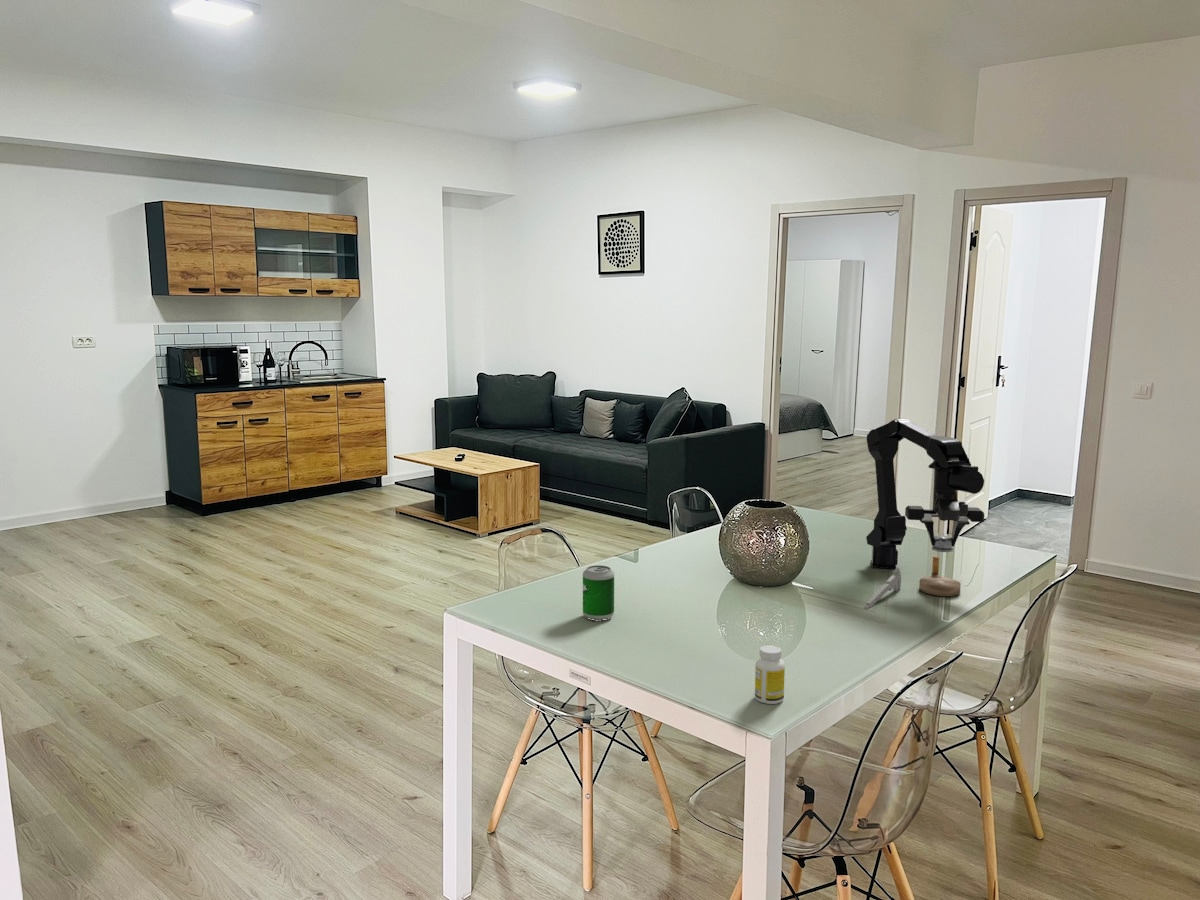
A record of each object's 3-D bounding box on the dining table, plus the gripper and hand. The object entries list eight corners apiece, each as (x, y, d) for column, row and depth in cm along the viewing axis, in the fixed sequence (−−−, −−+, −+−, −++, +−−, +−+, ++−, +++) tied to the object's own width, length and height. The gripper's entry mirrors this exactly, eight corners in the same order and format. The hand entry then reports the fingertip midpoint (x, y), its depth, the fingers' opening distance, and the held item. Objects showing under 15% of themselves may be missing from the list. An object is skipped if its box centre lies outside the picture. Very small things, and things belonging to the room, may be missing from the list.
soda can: (619, 615, 215) (620, 567, 213) (604, 624, 208) (604, 575, 207) (593, 610, 219) (593, 562, 217) (576, 619, 212) (576, 570, 210)
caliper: (896, 589, 236) (897, 566, 235) (900, 590, 235) (901, 567, 234) (863, 609, 220) (865, 584, 219) (868, 609, 220) (869, 585, 219)
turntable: (963, 597, 227) (965, 571, 226) (922, 594, 229) (923, 569, 228) (953, 581, 241) (955, 557, 240) (914, 579, 243) (916, 555, 242)
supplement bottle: (788, 697, 169) (790, 648, 167) (775, 707, 165) (777, 656, 163) (762, 690, 172) (764, 641, 171) (749, 700, 168) (750, 650, 166)
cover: (933, 551, 232) (934, 539, 232) (930, 546, 237) (930, 534, 237) (954, 552, 231) (955, 540, 231) (950, 547, 237) (951, 535, 236)
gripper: (912, 492, 226) (910, 552, 228) (990, 493, 223) (987, 555, 225) (906, 484, 237) (903, 541, 239) (980, 486, 233) (977, 544, 236)
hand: (942, 545), depth 234 cm, fingers closed on cover, 5 cm apart
